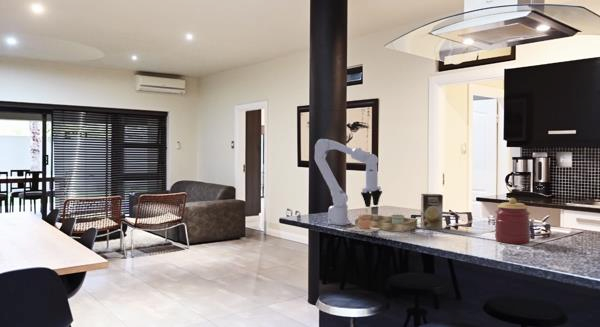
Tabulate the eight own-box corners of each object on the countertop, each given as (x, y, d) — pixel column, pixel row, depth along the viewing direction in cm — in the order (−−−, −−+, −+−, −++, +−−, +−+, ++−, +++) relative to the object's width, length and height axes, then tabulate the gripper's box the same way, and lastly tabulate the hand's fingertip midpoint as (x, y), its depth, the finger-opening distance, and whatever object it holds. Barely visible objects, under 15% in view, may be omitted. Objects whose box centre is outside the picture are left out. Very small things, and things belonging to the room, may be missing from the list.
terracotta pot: (356, 228, 216) (355, 215, 216) (362, 226, 221) (362, 213, 221) (367, 229, 212) (367, 216, 212) (373, 228, 217) (373, 214, 217)
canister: (515, 245, 179) (515, 200, 178) (488, 240, 191) (488, 197, 190) (537, 242, 185) (537, 198, 184) (509, 236, 197) (509, 195, 196)
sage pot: (389, 228, 219) (389, 215, 219) (394, 226, 224) (394, 214, 224) (400, 229, 216) (400, 216, 215) (406, 228, 220) (406, 215, 220)
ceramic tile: (347, 229, 216) (347, 228, 216) (357, 227, 224) (357, 225, 224) (370, 232, 209) (370, 231, 209) (380, 229, 216) (380, 228, 216)
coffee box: (422, 229, 216) (422, 195, 216) (420, 227, 223) (420, 193, 222) (442, 229, 215) (442, 195, 215) (440, 227, 222) (440, 193, 221)
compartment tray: (355, 226, 226) (354, 218, 226) (370, 222, 238) (370, 214, 238) (403, 231, 210) (403, 223, 210) (417, 227, 222) (417, 218, 222)
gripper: (371, 179, 220) (371, 208, 221) (385, 178, 232) (386, 205, 232) (358, 179, 225) (358, 207, 225) (373, 177, 236) (373, 204, 237)
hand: (371, 206), depth 229 cm, fingers open, 7 cm apart
